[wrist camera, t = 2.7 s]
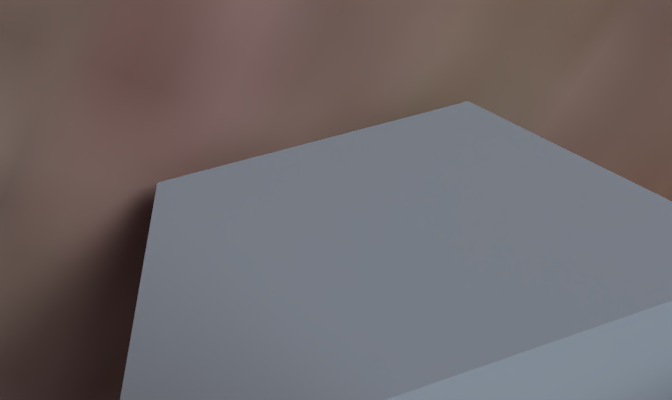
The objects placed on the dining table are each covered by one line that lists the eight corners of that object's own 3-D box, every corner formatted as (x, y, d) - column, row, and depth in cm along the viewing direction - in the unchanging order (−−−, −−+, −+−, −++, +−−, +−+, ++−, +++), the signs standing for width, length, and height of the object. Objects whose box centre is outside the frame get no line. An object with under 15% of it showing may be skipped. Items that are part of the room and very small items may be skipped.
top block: (467, 101, 8) (791, 259, 4) (481, 334, 10) (692, 603, 6) (157, 183, 7) (104, 496, 3) (244, 414, 10) (286, 785, 5)
